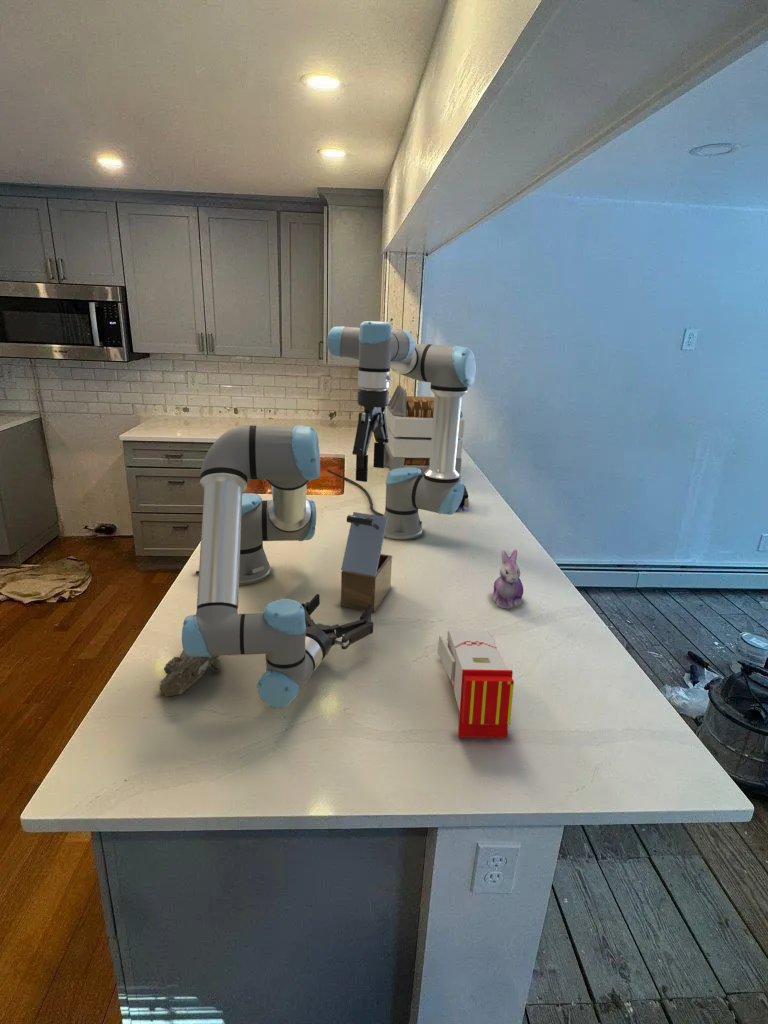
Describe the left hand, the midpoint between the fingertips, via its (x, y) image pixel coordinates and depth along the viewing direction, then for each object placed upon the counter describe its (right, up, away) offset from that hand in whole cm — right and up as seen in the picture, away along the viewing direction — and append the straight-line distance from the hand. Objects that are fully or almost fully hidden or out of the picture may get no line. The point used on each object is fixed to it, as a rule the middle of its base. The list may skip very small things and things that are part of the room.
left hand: (344, 604), depth 138 cm
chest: (+5, -1, +18) cm, 18 cm away
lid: (+5, +14, +9) cm, 18 cm away
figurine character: (+40, +24, +92) cm, 103 cm away
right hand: (+6, +32, +5) cm, 33 cm away
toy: (+28, -15, -19) cm, 37 cm away
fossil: (-30, -11, -16) cm, 36 cm away
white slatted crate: (+27, +41, +137) cm, 145 cm away
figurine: (+44, -2, +18) cm, 47 cm away
